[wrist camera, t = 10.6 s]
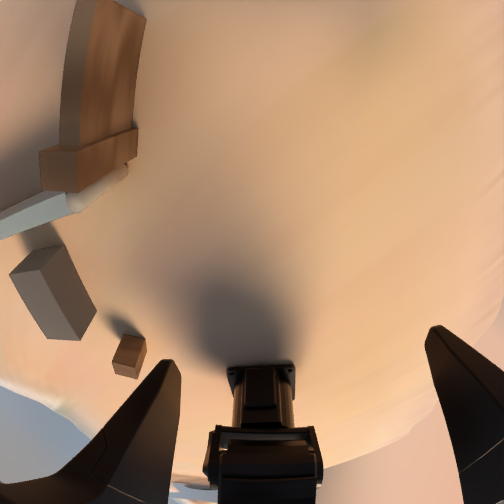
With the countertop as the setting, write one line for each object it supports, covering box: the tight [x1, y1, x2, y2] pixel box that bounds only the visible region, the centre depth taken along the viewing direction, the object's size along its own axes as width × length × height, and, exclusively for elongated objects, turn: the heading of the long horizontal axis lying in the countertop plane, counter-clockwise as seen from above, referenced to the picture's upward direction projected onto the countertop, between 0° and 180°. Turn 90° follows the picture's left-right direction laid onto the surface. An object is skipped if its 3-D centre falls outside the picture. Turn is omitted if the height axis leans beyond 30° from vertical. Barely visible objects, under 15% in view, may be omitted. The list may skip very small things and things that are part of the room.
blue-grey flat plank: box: [0, 164, 128, 240], centre depth 15 cm, size 16×1×6 cm, turn 101°
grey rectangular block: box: [9, 244, 97, 341], centre depth 20 cm, size 7×4×4 cm, turn 8°
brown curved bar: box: [39, 0, 147, 379], centre depth 16 cm, size 27×2×7 cm, turn 171°
